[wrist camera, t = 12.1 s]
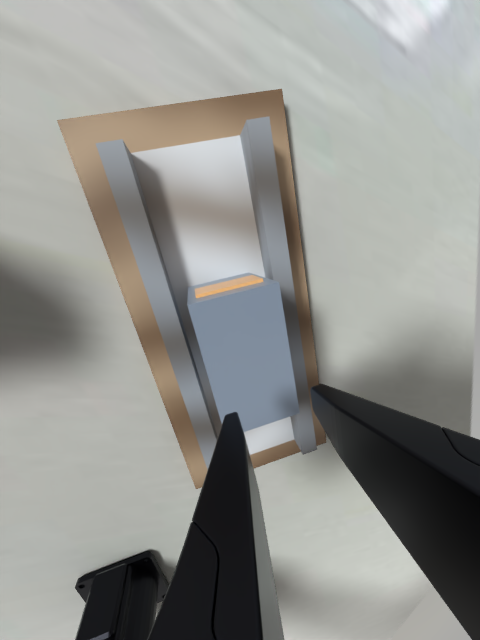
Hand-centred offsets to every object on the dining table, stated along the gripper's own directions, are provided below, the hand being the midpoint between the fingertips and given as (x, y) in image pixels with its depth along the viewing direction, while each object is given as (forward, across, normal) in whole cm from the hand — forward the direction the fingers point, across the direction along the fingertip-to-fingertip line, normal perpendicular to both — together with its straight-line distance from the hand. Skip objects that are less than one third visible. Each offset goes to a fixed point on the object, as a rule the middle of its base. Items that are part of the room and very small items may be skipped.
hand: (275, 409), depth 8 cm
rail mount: (+10, 0, 0) cm, 10 cm away
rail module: (+9, 0, 0) cm, 9 cm away
